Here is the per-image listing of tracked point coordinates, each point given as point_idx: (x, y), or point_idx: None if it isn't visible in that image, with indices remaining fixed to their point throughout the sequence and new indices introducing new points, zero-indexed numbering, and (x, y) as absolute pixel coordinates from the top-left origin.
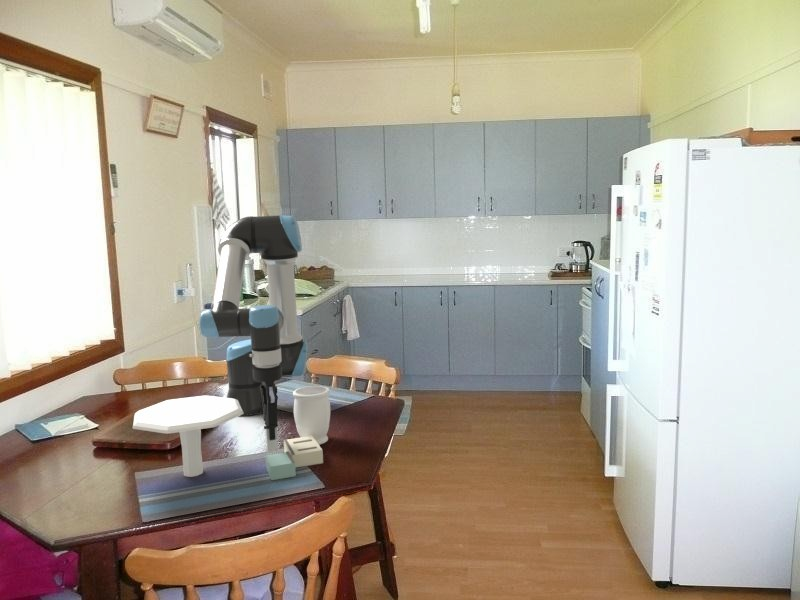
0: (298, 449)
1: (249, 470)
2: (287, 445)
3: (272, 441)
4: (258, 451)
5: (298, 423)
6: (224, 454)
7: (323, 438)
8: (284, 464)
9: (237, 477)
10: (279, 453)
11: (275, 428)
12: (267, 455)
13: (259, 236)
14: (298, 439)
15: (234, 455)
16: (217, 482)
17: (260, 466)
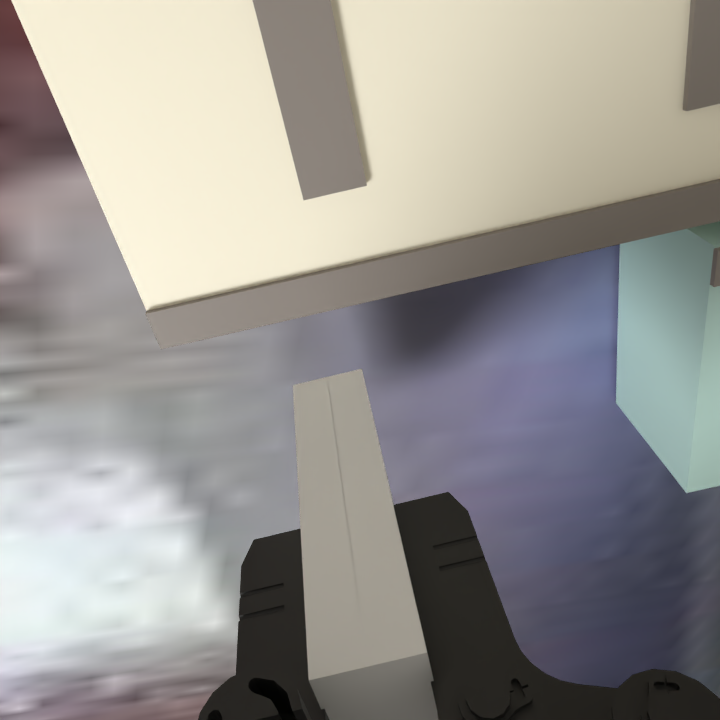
0: (695, 92)
1: (580, 512)
2: (445, 279)
3: (392, 500)
4: (134, 509)
5: None
6: (184, 697)
7: None
8: None
9: (676, 561)
10: (707, 361)
11: (424, 635)
12: (695, 475)
13: None
14: (156, 98)
15: (216, 644)
16: (694, 640)
17: (529, 450)
